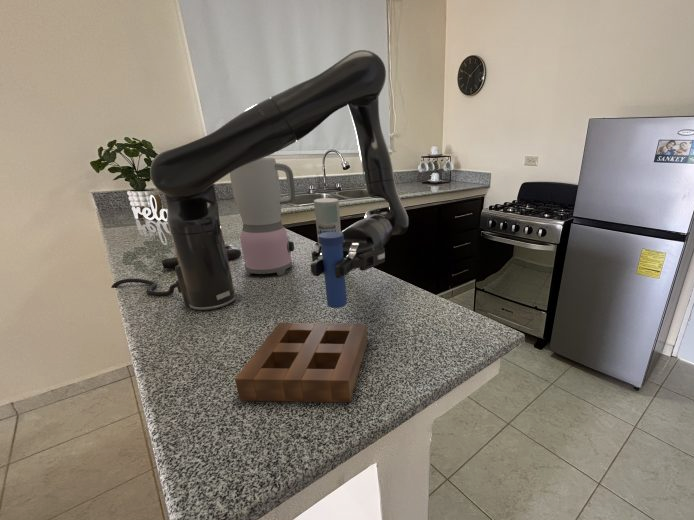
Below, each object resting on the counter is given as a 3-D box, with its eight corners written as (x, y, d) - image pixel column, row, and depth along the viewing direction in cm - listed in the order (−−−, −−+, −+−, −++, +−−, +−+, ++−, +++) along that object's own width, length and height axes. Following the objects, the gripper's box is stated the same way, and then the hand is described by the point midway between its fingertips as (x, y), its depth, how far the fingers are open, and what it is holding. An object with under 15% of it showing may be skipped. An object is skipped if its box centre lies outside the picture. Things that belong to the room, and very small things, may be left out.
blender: (239, 278, 93) (213, 152, 81) (253, 263, 104) (232, 150, 92) (300, 276, 96) (284, 153, 84) (307, 261, 107) (294, 150, 95)
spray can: (345, 265, 104) (339, 198, 97) (342, 273, 99) (337, 202, 91) (322, 265, 104) (315, 198, 96) (319, 273, 98) (311, 202, 90)
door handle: (159, 250, 107) (161, 261, 95) (231, 240, 118) (241, 249, 106) (162, 260, 108) (164, 273, 96) (233, 249, 119) (243, 259, 107)
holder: (239, 401, 51) (234, 378, 50) (282, 340, 66) (279, 322, 65) (350, 402, 51) (348, 380, 50) (367, 342, 66) (366, 323, 65)
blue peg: (322, 308, 57) (315, 237, 52) (328, 298, 61) (322, 231, 56) (346, 309, 57) (340, 238, 52) (350, 298, 61) (345, 231, 56)
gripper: (328, 219, 69) (280, 244, 53) (397, 223, 67) (368, 251, 51) (331, 255, 72) (286, 289, 56) (398, 260, 70) (371, 297, 54)
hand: (326, 271), depth 54 cm, fingers closed on blue peg, 3 cm apart
